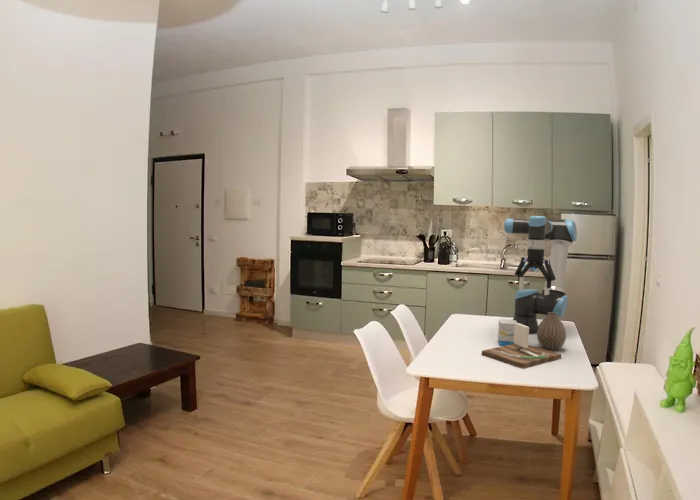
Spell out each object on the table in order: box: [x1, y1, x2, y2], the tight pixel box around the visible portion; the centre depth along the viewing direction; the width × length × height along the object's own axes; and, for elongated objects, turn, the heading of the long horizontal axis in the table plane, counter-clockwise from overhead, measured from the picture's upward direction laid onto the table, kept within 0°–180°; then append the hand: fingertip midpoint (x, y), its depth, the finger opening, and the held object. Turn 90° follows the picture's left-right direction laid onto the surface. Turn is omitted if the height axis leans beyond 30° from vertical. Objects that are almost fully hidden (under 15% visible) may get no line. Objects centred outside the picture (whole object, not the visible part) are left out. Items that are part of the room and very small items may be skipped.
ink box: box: [497, 318, 517, 347], centre depth 241 cm, size 9×8×12 cm
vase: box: [536, 312, 567, 351], centre depth 235 cm, size 13×13×18 cm
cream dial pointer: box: [514, 323, 539, 357], centre depth 219 cm, size 16×2×12 cm, turn 16°
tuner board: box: [481, 344, 562, 369], centre depth 220 cm, size 28×22×2 cm
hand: (533, 292), depth 231 cm, fingers open, 13 cm apart
